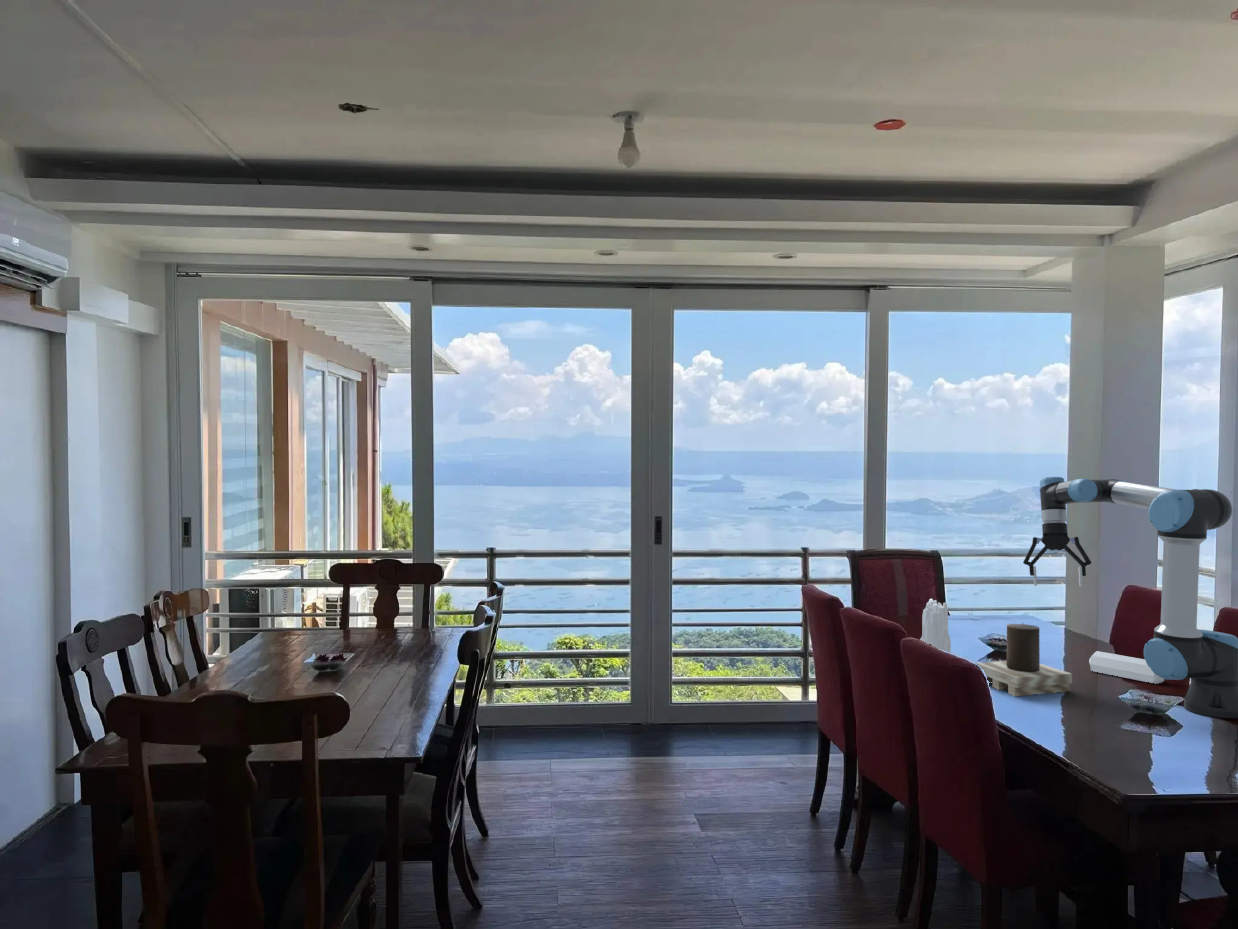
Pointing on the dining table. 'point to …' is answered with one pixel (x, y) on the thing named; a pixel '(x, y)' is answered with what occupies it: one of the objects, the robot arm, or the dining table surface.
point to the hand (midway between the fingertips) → (1058, 586)
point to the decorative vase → (936, 625)
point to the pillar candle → (1023, 647)
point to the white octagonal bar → (1123, 667)
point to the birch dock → (1026, 679)
